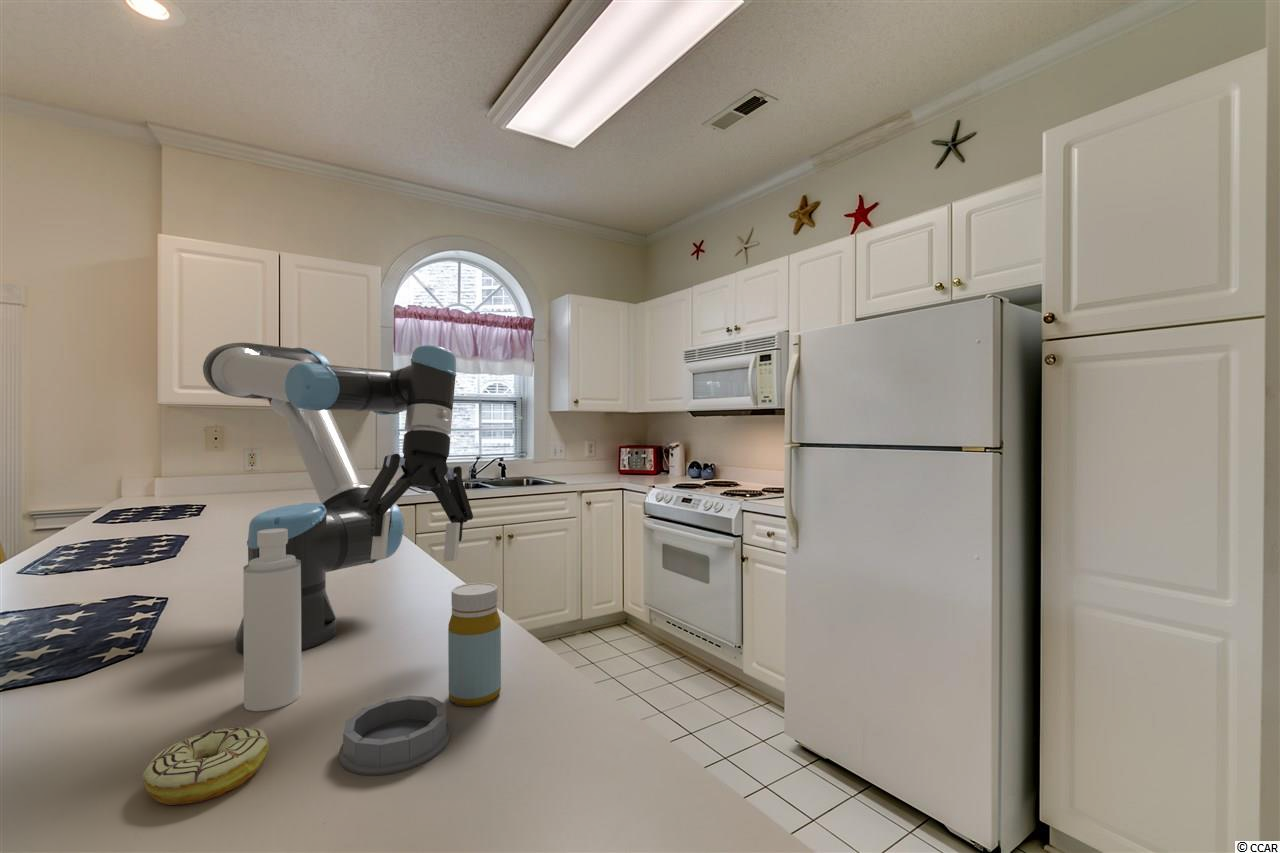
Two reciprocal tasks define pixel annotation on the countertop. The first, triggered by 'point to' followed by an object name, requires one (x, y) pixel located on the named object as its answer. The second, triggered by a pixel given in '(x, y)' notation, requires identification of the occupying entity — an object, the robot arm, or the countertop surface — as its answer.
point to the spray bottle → (272, 624)
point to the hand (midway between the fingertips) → (416, 560)
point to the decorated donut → (205, 765)
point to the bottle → (474, 645)
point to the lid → (394, 735)
